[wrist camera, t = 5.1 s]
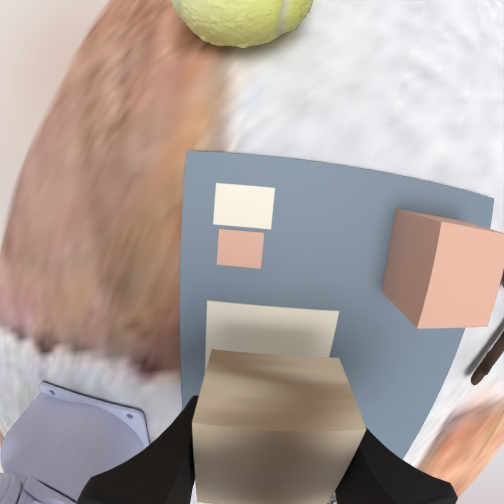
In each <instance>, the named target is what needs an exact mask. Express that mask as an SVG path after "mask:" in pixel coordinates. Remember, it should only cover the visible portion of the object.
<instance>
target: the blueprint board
mask: <svg viewBox="0 0 504 504" xmlns="http://www.w3.org/2000/svg"><path fill="white" fill-rule="evenodd" d="M493 204H494V198H491V197H487V196H484V195H480V194H477V193H473V192H469V191H465V190H462V189H458V188H454V187H450V186H446V185H442V184H437V183H433V182H429V181H424V180H420V179H415V178H410V177H405V176H401V175H396V174H390V173H385V172H380V171H374V170H369V169H363V168H357V167H351V166H344V165H338V164H331V163H324V162H316V161H308V160H300V159H292V158H283V157H273V156H262V155H251V154H238V153H223V152H205V151H186V163H185V176H184V190H183V206H182V226H181V252H180V364H181V390H182V408H183V409H184V408H185V406H186V405H187V403H188V402H189V400H190V399H191V397H192V396H194V395H197V396H199V394H200V391H201V387H202V383H203V379H204V376H205V372H206V368H207V365H208V361H209V357H210V354H211V350H212V349H216V350H225V351H234V352H245V353H256V354H269V355H284V356H303V357H331V358H339V359H340V361H341V364H342V366H343V369H344V371H345V374H346V377H347V379H348V382H349V384H350V387H351V389H352V392H353V395H354V397H355V400H356V402H357V405H358V408H359V410H360V413H361V416H362V418H363V421H364V424H365V426H366V427H367V428H368V429H369V430H370V432H371V433H372V434H373V435H374V436H375V437H376V438H377V439H378V440H379V441H380V442H381V443H382V444H383V445H385V446H386V447H387V448H388V449H389V450H390V451H391V452H393V453H394V454H395V455H397V456H398V457H399V458H401V459H403V458H404V456H405V455H406V453H407V451H408V450H409V448H410V446H411V445H412V443H413V441H414V440H415V438H416V436H417V434H418V433H419V431H420V429H421V427H422V425H423V424H424V422H425V420H426V418H427V416H428V414H429V412H430V410H431V408H432V406H433V404H434V402H435V400H436V398H437V396H438V394H439V392H440V390H441V388H442V385H443V383H444V381H445V379H446V376H447V374H448V372H449V369H450V367H451V365H452V362H453V360H454V357H455V355H456V352H457V349H458V347H459V344H460V341H461V339H462V336H463V333H464V330H465V328H424V329H417V328H416V327H415V326H414V325H413V324H412V323H411V322H410V321H409V319H408V318H407V317H406V316H405V315H404V314H403V313H402V312H401V311H400V310H399V309H398V308H397V307H396V306H395V305H394V304H393V303H392V302H391V301H390V300H389V299H388V298H387V297H386V296H385V295H384V294H383V293H382V292H381V290H382V286H383V281H384V276H385V271H386V266H387V261H388V255H389V250H390V244H391V238H392V232H393V225H394V218H395V211H396V209H401V210H407V211H413V212H419V213H425V214H430V215H436V216H441V217H446V218H452V219H457V220H461V221H465V222H468V223H472V224H475V225H479V226H482V227H485V228H488V229H490V225H491V219H492V212H493Z"/></svg>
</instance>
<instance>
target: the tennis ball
mask: <svg viewBox="0 0 504 504" xmlns="http://www.w3.org/2000/svg"><path fill="white" fill-rule="evenodd" d="M171 2H172V5H173V7H174V10H175V12H176V13H177V15H178V16H179V17H180V18H181V19H182V20H183V21H184V22H185V24H186V25H187V26H188V28H189V29H190V30H191V31H192V32H193V33H194V34H196V35H198V36H199V37H200V38H201V40H203V41H206V42H210V43H211V44H212V45H218V46H222V45H225V46H234V47H235V46H237V47H240V48H246V47H248V46H255V45H261V44H264V43H269V42H271V41H272V40H274V39H276V38H277V37H278V36H280V35H282V34H283V33H287V32H289V31H291V30H295V29H296V27H297V26H298V25H299V24H300V22H301V21H302V20H303V19H304V18H305V17H306V15H307V13H309V11H310V8H311V6H312V2H313V0H171Z"/></svg>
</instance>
